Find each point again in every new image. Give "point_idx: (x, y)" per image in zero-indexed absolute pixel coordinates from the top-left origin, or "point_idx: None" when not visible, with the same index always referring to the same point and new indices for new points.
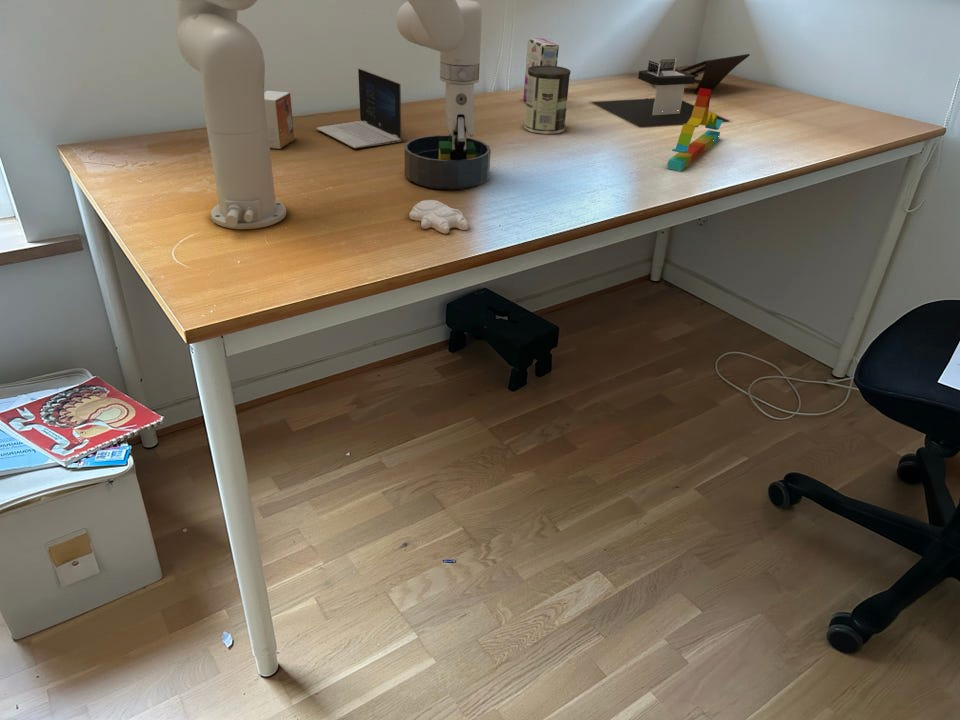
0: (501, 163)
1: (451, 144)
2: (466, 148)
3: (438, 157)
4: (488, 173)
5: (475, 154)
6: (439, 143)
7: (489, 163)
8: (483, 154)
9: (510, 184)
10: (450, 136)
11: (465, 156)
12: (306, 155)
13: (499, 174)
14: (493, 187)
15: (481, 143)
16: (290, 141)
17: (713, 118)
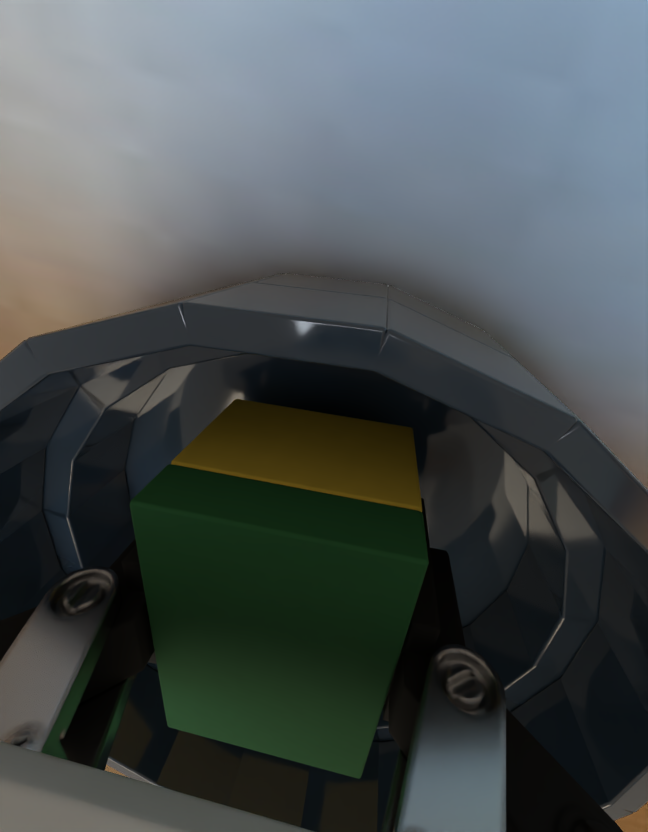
0: (19, 68)
1: (253, 696)
2: (402, 641)
3: (115, 536)
4: (434, 309)
5: (136, 373)
6: (222, 739)
7: (415, 311)
8: (594, 492)
9: (574, 106)
10: (119, 719)
11: (430, 587)
12: (113, 772)
13: (294, 161)
14: (588, 295)
15: (72, 368)
16: None
17: None
